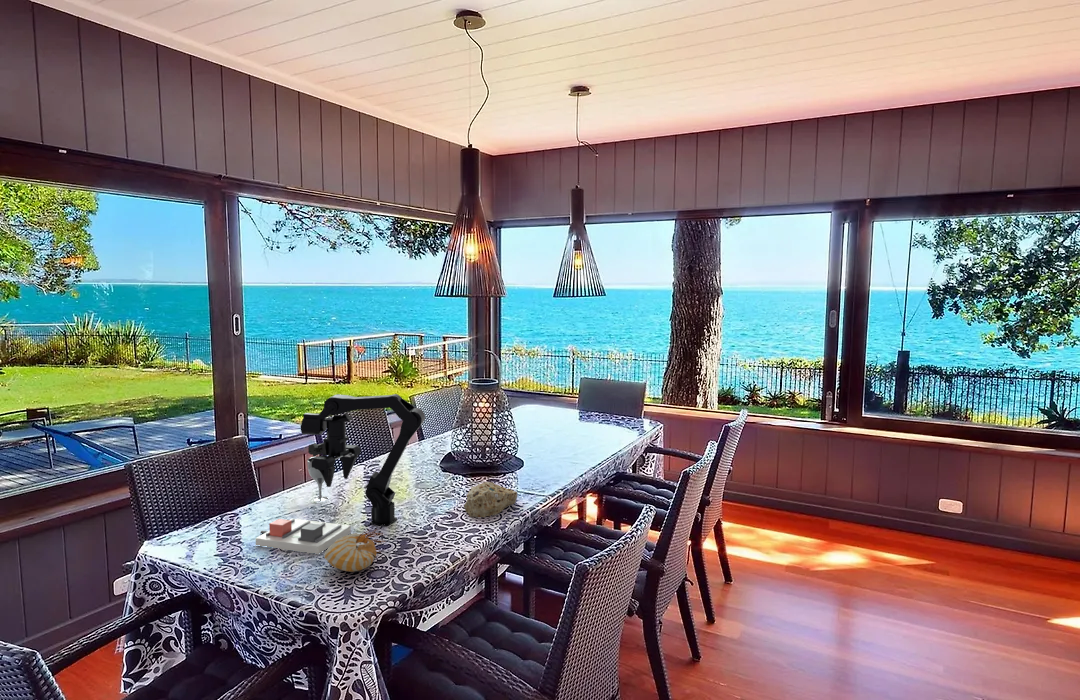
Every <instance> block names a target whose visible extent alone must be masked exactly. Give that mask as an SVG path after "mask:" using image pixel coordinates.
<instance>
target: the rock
mask: <svg viewBox="0 0 1080 700" xmlns="http://www.w3.org/2000/svg"><path fill="white" fill-rule="evenodd" d="M465 498H466V502H465V503H464V505H463V508H464V510H465V513H466V514H468V516H469V517H470V518H478V517H483V518H484V517H485V518H486V517H491V515H492V516H497V515H498V514H500V513H501V512H503V511H504V510H505V509H506V508H508V507H509V506H512V505H515V504H516V501H517V499H518V491H515V490H513V489H511V488H506V487H505V486H501V485H498V484H496V483H495V482H494V481H485V482H482V483H478V484H477V485H475V486H472V487H470V490H469V491H468V493H467V494H466V497H465ZM483 518H482V519H483ZM485 518H484V519H485Z"/></svg>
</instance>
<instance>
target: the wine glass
mask: <svg viewBox="0 0 1080 700" xmlns="http://www.w3.org/2000/svg"><path fill="white" fill-rule="evenodd" d="M318 456H319V455H316V456H315V457H313V456H311V457H309V458H308V459H307V460H306V461H307V471H308V474H309V476H310V477H311V478H312V479H313V480H314V481H315V483H316V484H317V486H318V497H317V496H316V497H317V498H316V497H314V498H315V499H314V501H325V500H327V499H328V498H327V497H328V496H322V487H323V483H325V481H324V478H323V476H322V474H321V472H320V471H319V470H318V469H315V468H312V467H311V461H312V460H313V458H316V457H318Z"/></svg>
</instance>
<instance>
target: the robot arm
mask: <svg viewBox="0 0 1080 700" xmlns="http://www.w3.org/2000/svg"><path fill="white" fill-rule="evenodd" d="M374 409H375V410H376V409H378V410H379V409H391V410H392V411H393V412H394V413H395V415H396V416H397V417H398V418H399V419H400V421H401V420H402V423H401V426H400V429H399V434H398V437H397V438H396V440H395V442H394V444H393V446H392V448H391V449H390V451H389V453H388V456H387V457H386V460H385V461H384V463H383V465H382V467H381V469H380V471H379V472H378V471H375V470H374V472H373V473H372V475H371V476H370V477H369V480H368V483H367V484H366V485H365V487H364V488H365V491H364V493H365V496H366V499H368V500H369V501H370V503H371V506H372V507H371V510H370V511H371V512H370V513H371V515H370V516H371V518H370V519H371V521H369V524H370V525H374V526H375V525H376V526H386V527H388V526H390V525H391V524H393V523H394V522H396V521H397V520H398V517H397V516H396V515H395V514H396V513H395V512H396V511H395V501H393V500H394V498H395V495H396V492H395V491H394V490H393V489H392V488H391V487H390V484H391V480H392V477H393V474H394V471H395V469H396V467H397V465H398V463H399V462H400V460H401V458H402V456H403V453H404V452H405V450H406V448H407V446H408V444H409V443H410V440H411V439H412V437H413V436H414V434H415V433H416V432H417V431H418V429H419V428H420V427H421V426H422V424H423V423H424V422H425V420H426V414H425V412H424V411H423V410H422V409H421V408H417V407H415V405H413V404H411V402H409V401H407V400H406V399H404V398H403V397H402V396H401V395H399V394H397V393H394V394H386V395H373V396H372V395H370V396H369V395H368V396H353V395H349V394H348V395H347V394H338V393H337V394H334V395H332V396H330V397H329V398H326V400H324V403H323V408H322V409H321V411H320V412H319V413H311V412H305V413H303V414H302V416H303V418H302V421H301V424H300V432H301V435H303V436H304V435H306V436H307V435H308V436H310V435H311V436H312V435H314V436H315V435H317V436H319V435H320V436H321V435H323V433H324V432H326V438H324V439H323V442H322V443H319V444H317V443H316V442H314V443H311V444H309V445H308V449H307V450H308V451H307V452H308V454H309V455H310V456H311V455H312V457H316V456H318V457H316V458H313V460H312V461H311V467H312V468H315V469H318V470H319V471H320V472H321V474H322V476H323V478H324V483H325V485H326V487H327V488H331V487H332V484H333V479H334V476H335V471H336V468H337V467H336V466H335V464H336V461H337V460H340V461H341V466H342V474H343V478H344V479H348V478H349V475H350V473H351V471H352V468H353V467H354V465H355V463H356V461H357V459H359V455H360V454H361V447H360V446H359V445H358V444H357V445H355V444H347V441H349V440H350V438H349V437H350V436H347V435H346V434H347V431H346V428H347V427H346V422H347V423H348V422H350V421H352V420H353V417H352V416H350V414H348V413H349V412H352V411H358V410H374ZM341 414H342V415H341ZM329 416H332V417H329ZM321 454H322V455H321Z"/></svg>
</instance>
